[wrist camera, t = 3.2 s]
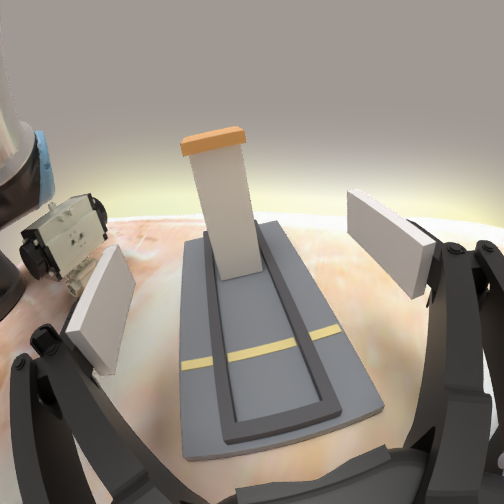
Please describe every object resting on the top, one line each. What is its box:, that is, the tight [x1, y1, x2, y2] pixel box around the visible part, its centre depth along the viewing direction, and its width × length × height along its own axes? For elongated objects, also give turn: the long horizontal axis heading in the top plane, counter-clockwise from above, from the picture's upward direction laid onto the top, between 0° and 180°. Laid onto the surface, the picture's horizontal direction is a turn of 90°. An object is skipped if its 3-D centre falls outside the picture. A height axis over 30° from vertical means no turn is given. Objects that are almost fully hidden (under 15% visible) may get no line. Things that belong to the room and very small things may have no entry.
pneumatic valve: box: [19, 193, 108, 297], centre depth 27 cm, size 6×12×12 cm, turn 162°
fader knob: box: [180, 126, 263, 281], centre depth 24 cm, size 5×5×13 cm
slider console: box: [179, 220, 385, 461], centre depth 23 cm, size 26×12×2 cm, turn 11°
